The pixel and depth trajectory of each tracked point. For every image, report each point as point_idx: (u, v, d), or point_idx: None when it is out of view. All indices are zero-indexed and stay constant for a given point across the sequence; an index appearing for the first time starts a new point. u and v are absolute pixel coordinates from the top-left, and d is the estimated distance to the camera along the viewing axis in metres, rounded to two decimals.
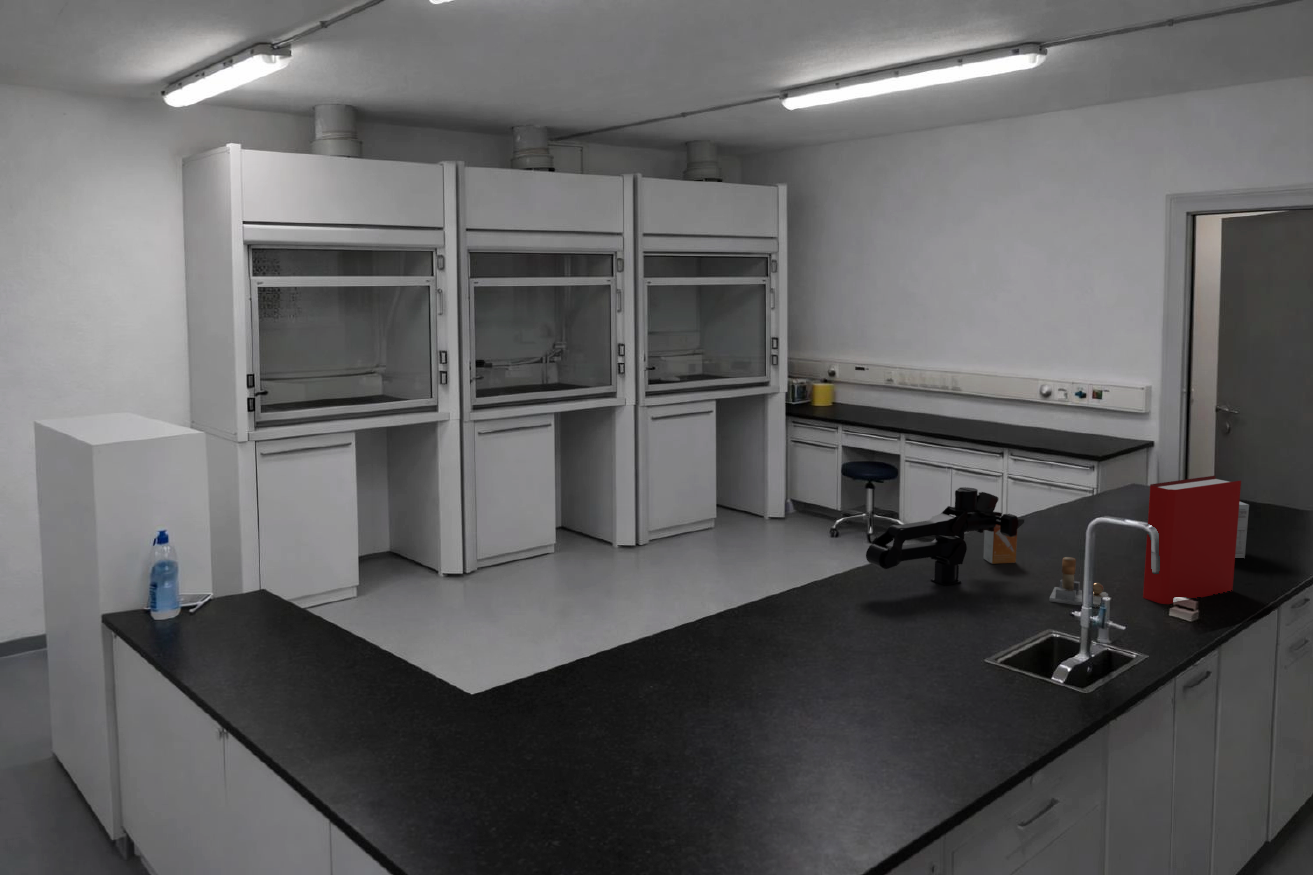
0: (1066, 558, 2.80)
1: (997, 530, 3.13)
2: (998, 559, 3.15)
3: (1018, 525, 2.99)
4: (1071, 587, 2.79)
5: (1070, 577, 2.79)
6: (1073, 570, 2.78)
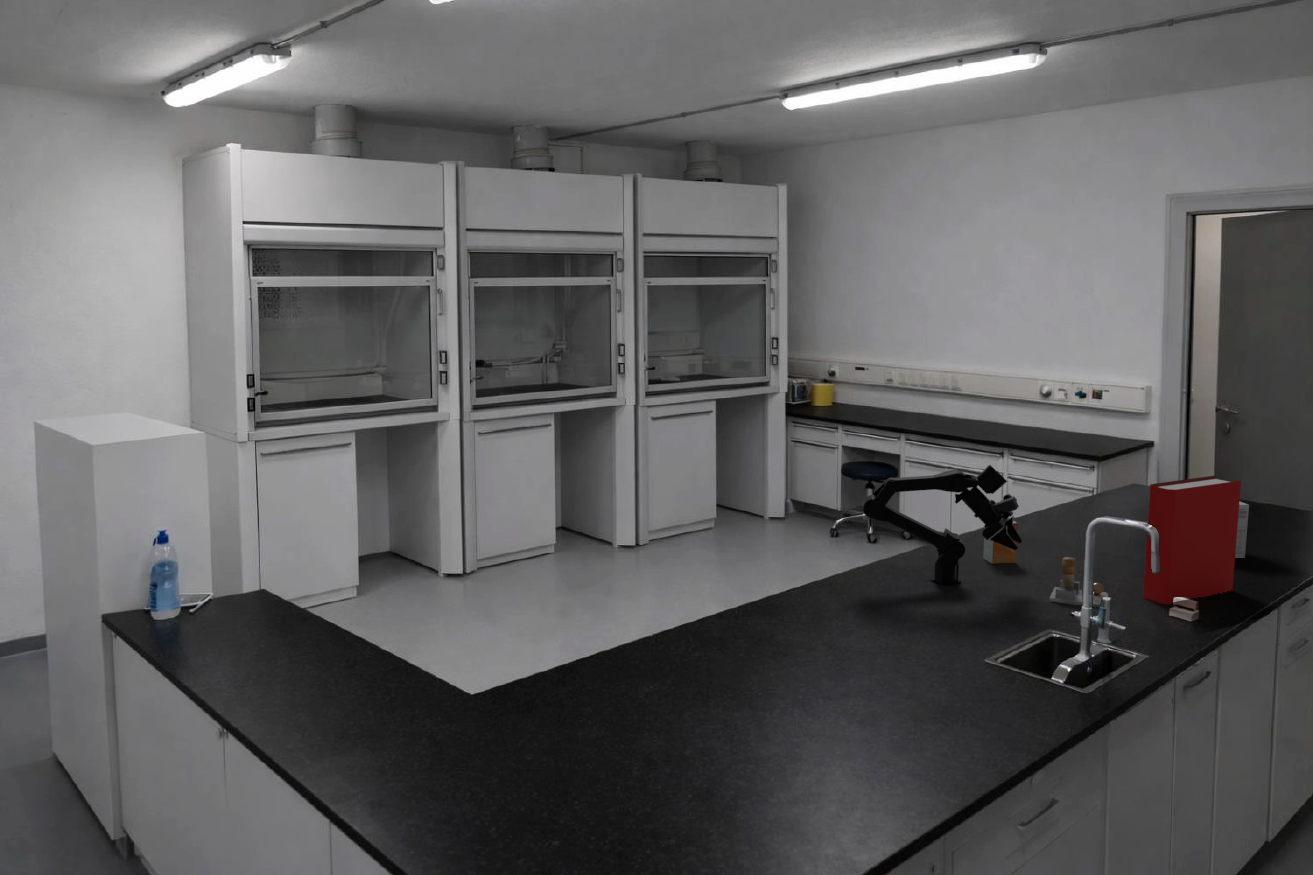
0: (1066, 558, 2.80)
1: None
2: (998, 559, 3.15)
3: (1005, 543, 2.85)
4: (1071, 587, 2.79)
5: (1070, 577, 2.79)
6: (1073, 570, 2.78)
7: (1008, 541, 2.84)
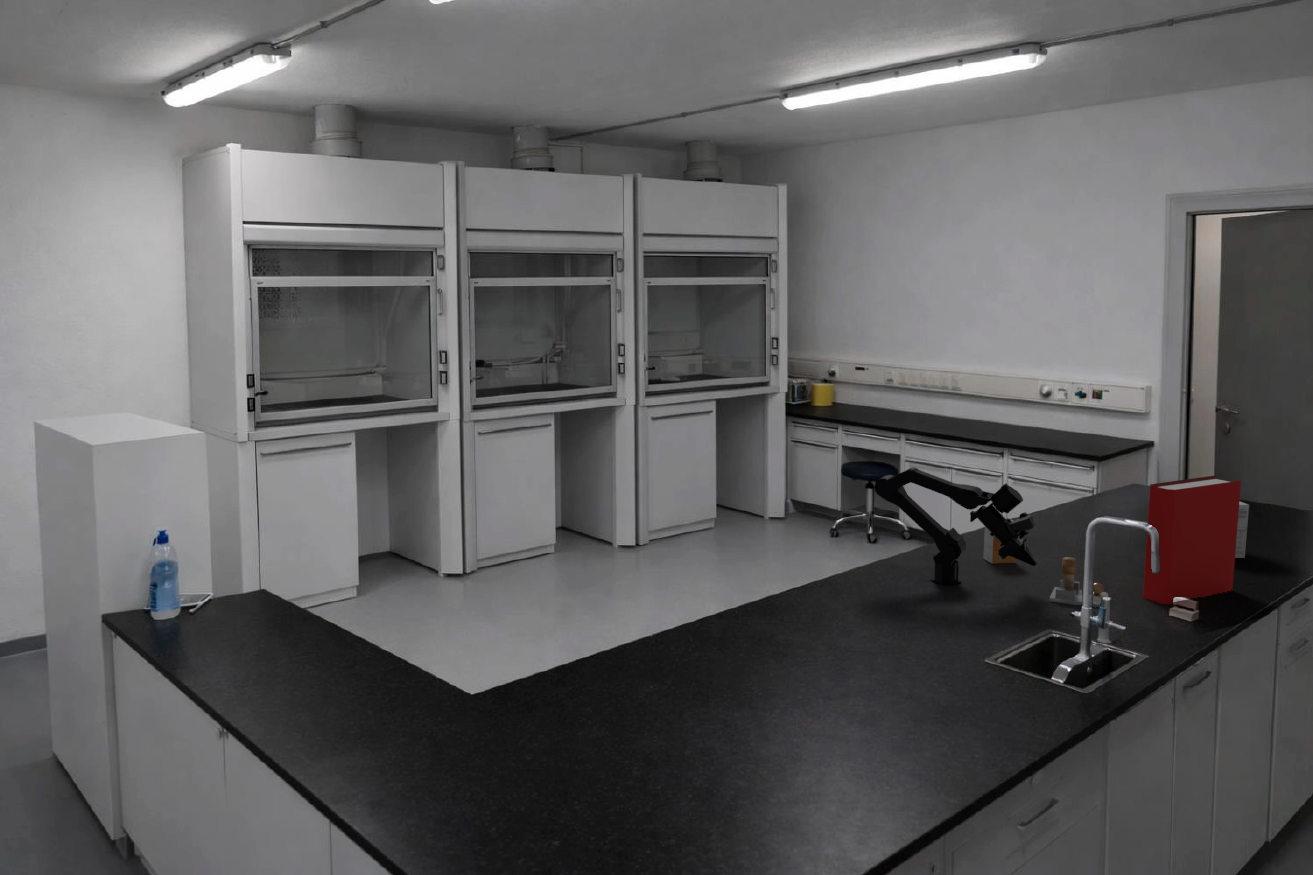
0: (1066, 558, 2.80)
1: None
2: (998, 559, 3.15)
3: (1024, 559, 2.84)
4: (1071, 587, 2.79)
5: (1070, 577, 2.79)
6: (1073, 570, 2.78)
7: (1027, 557, 2.84)
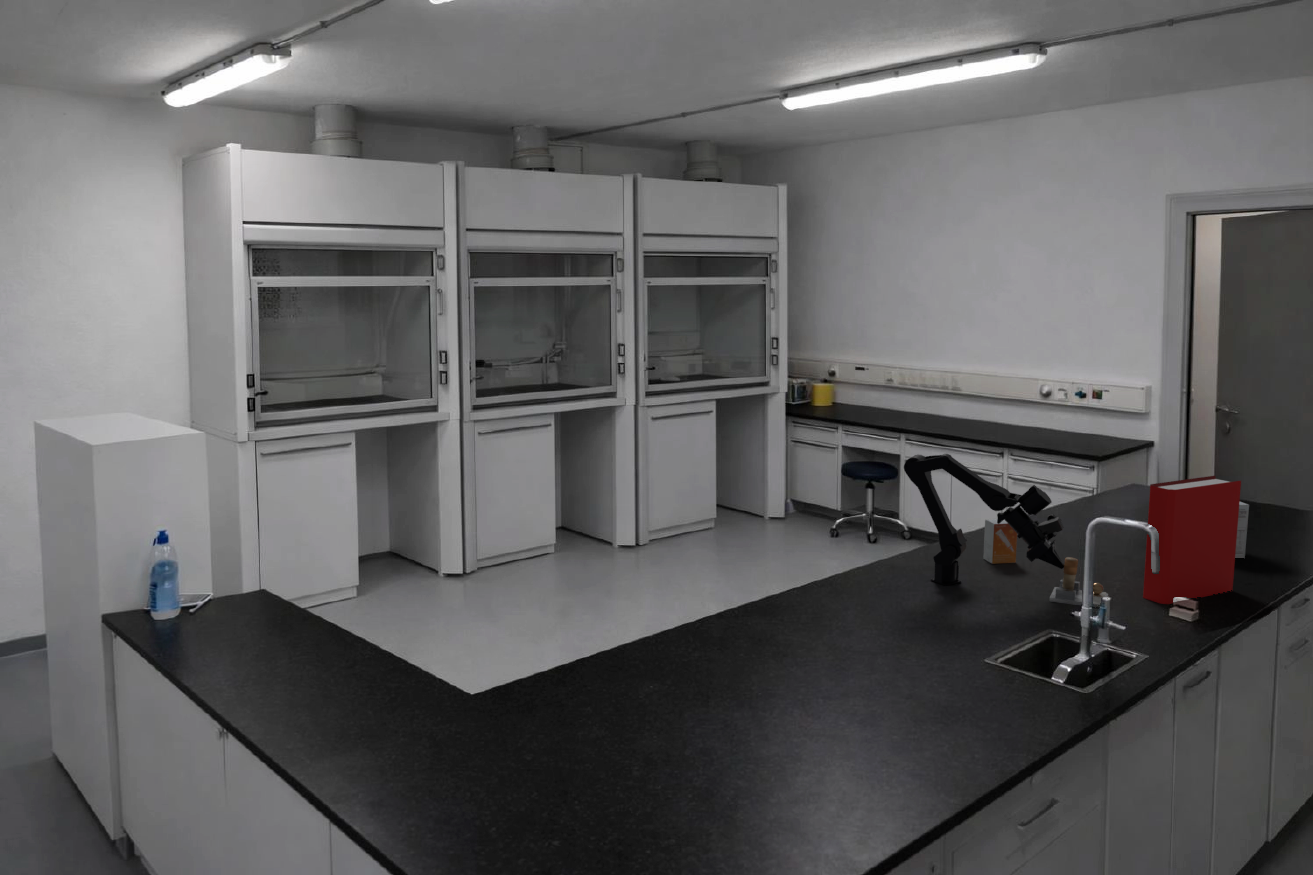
0: (1069, 558, 2.79)
1: (997, 530, 3.13)
2: (998, 559, 3.15)
3: (1052, 561, 2.81)
4: (1071, 587, 2.79)
5: (1071, 577, 2.79)
6: (1075, 571, 2.78)
7: (1054, 559, 2.80)
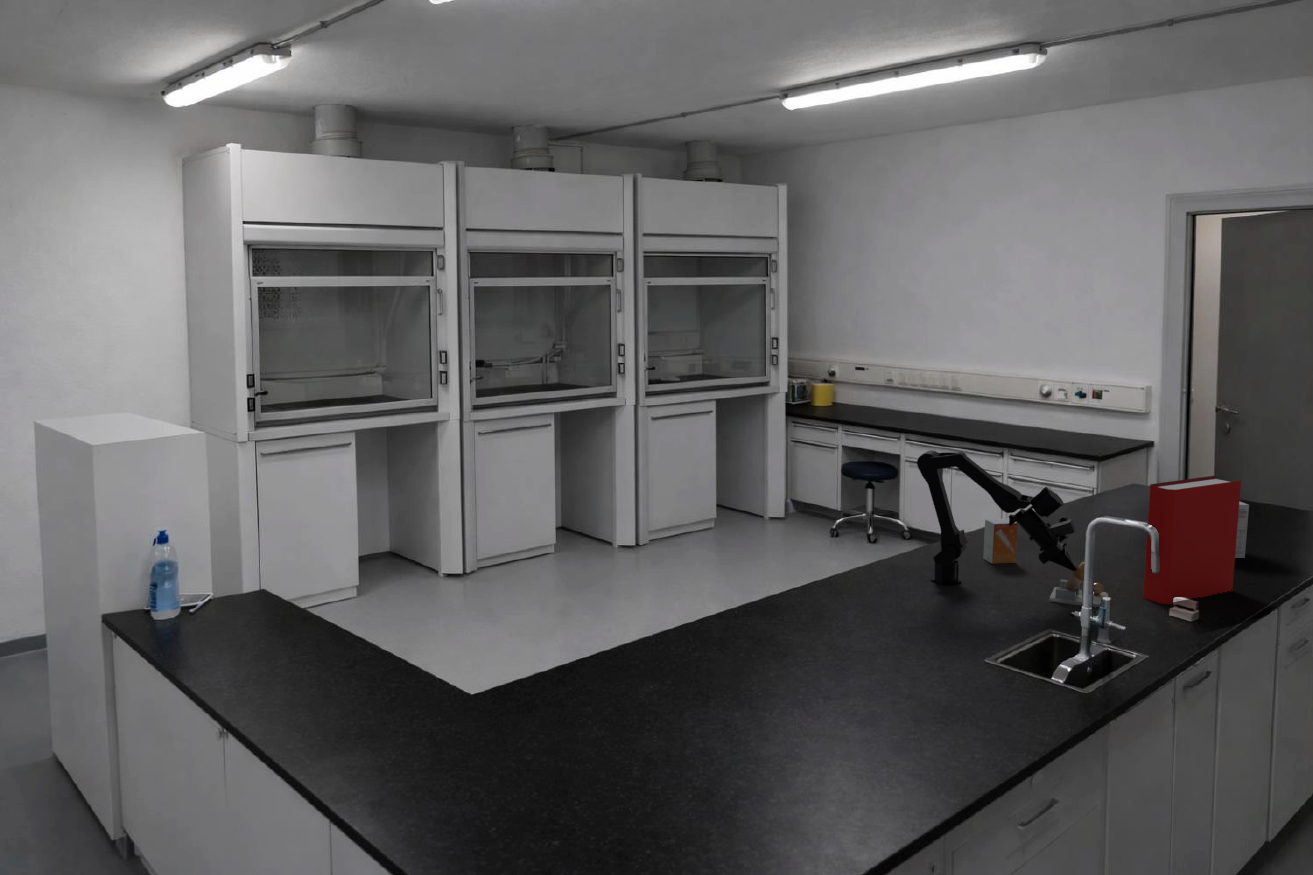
0: None
1: (997, 530, 3.13)
2: (998, 559, 3.15)
3: (1064, 564, 2.79)
4: None
5: (1078, 581, 2.78)
6: None
7: (1067, 562, 2.79)
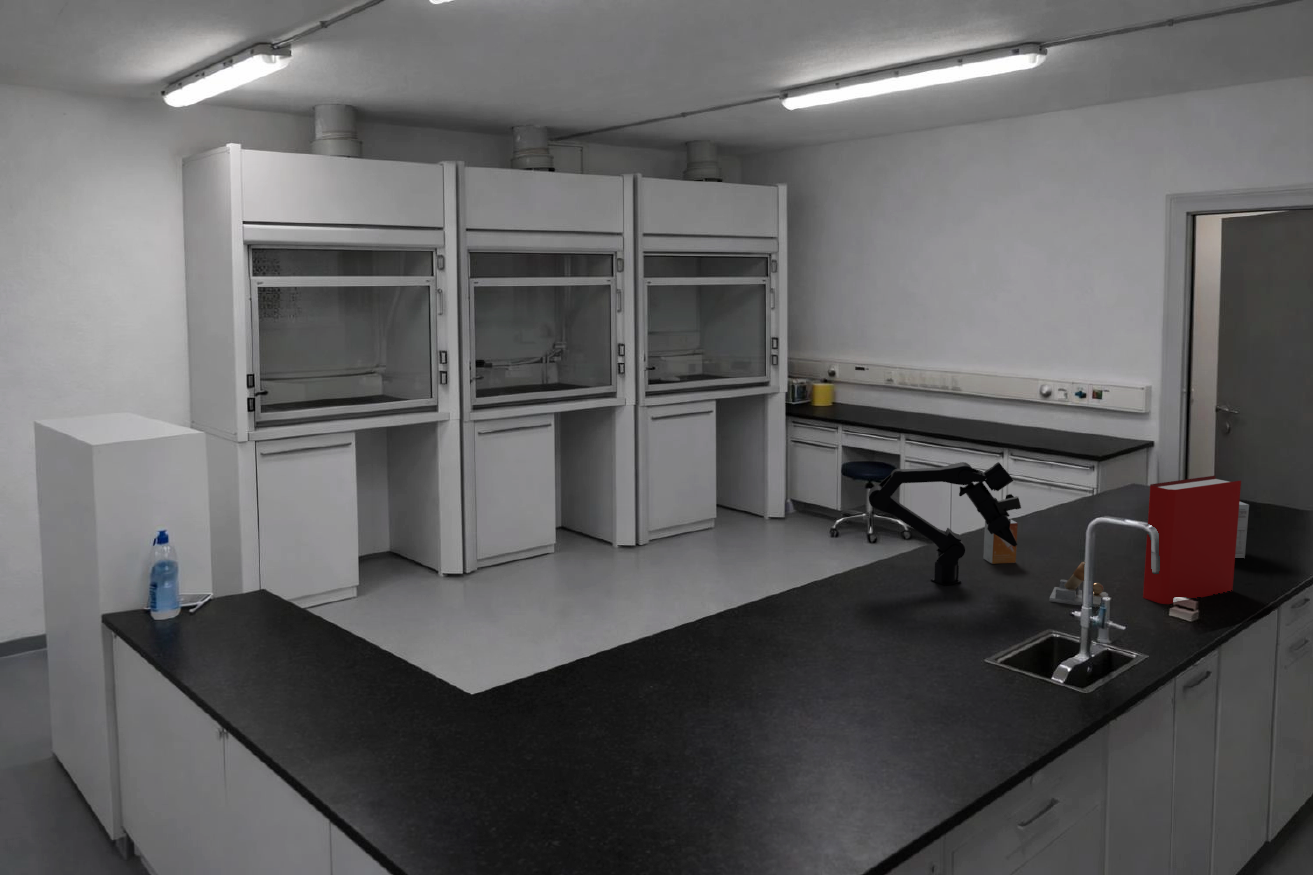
0: None
1: None
2: (998, 559, 3.15)
3: (1006, 538, 2.88)
4: None
5: (1078, 581, 2.78)
6: None
7: (1009, 536, 2.88)
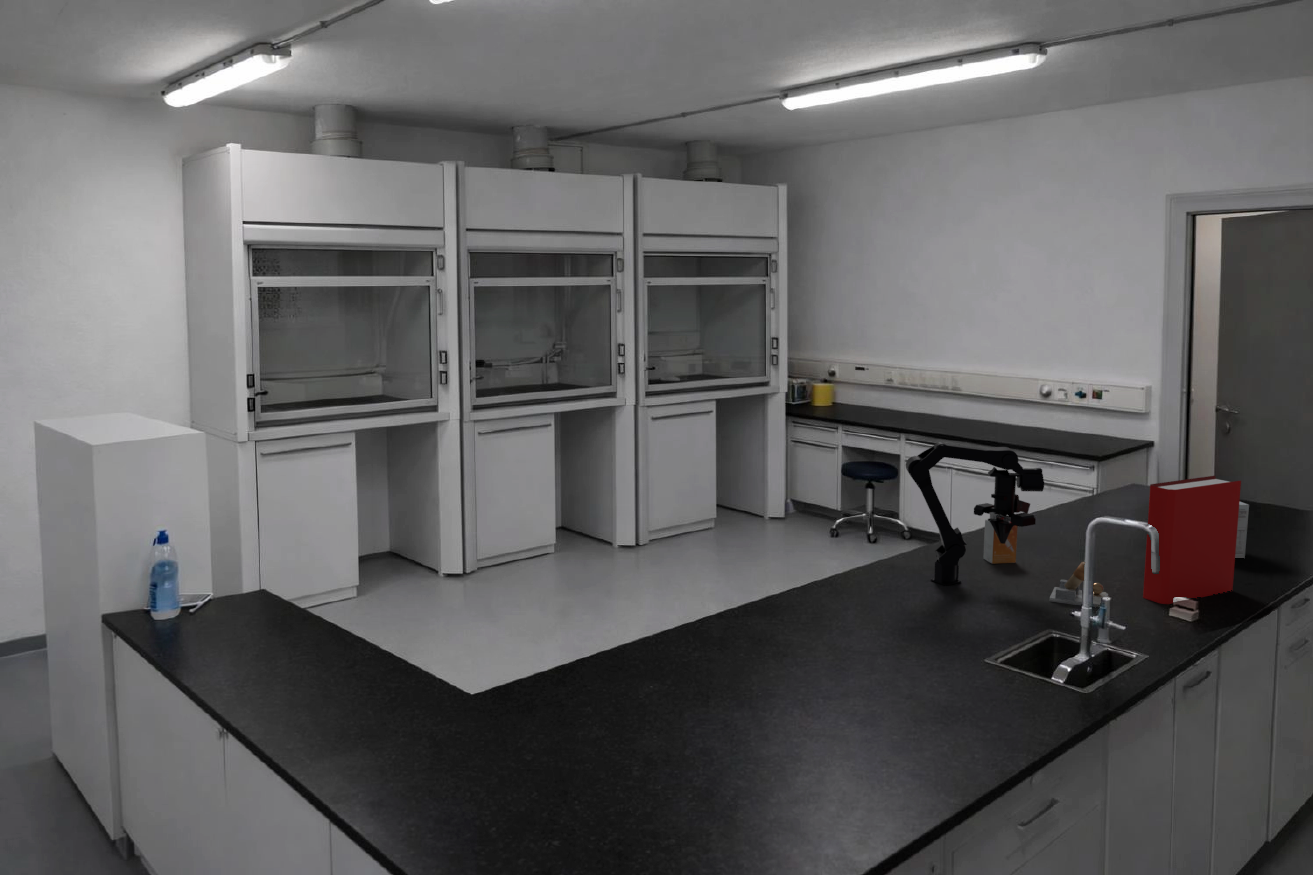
0: None
1: None
2: (998, 559, 3.15)
3: (1004, 534, 2.92)
4: None
5: (1078, 581, 2.78)
6: None
7: (1007, 533, 2.92)
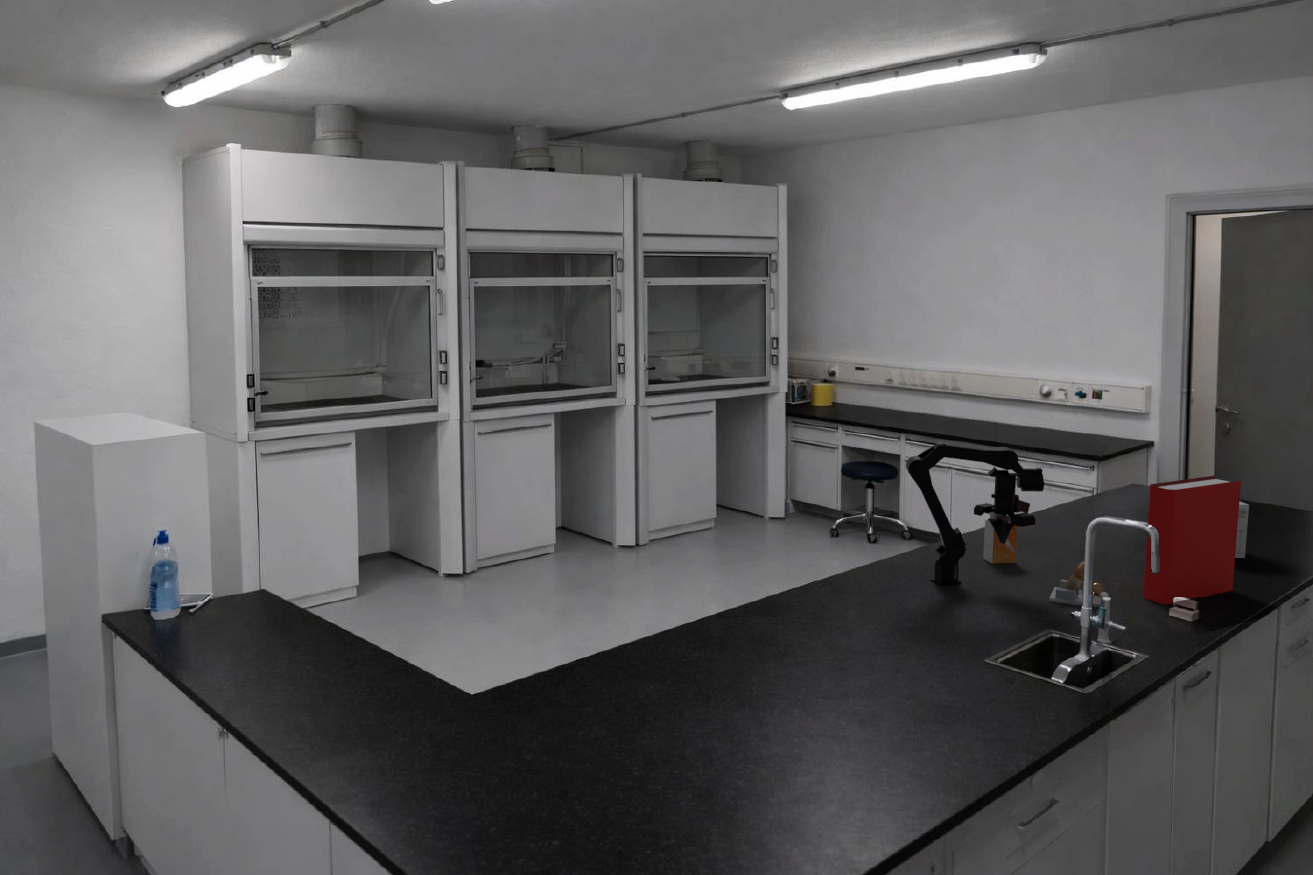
0: None
1: None
2: (998, 559, 3.15)
3: (1004, 534, 2.92)
4: None
5: (1078, 581, 2.78)
6: None
7: (1007, 533, 2.92)
